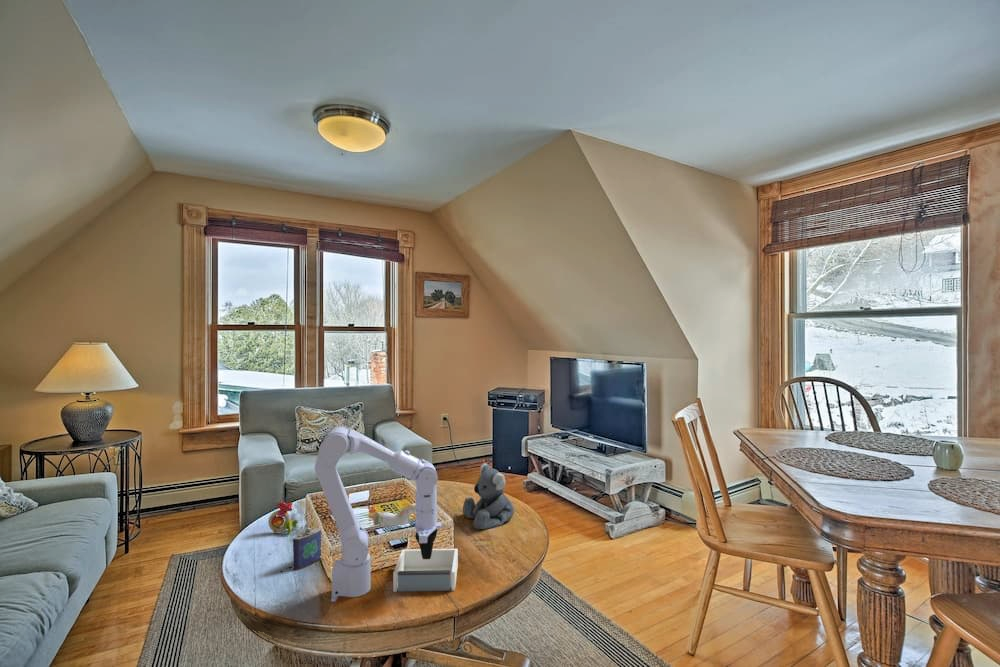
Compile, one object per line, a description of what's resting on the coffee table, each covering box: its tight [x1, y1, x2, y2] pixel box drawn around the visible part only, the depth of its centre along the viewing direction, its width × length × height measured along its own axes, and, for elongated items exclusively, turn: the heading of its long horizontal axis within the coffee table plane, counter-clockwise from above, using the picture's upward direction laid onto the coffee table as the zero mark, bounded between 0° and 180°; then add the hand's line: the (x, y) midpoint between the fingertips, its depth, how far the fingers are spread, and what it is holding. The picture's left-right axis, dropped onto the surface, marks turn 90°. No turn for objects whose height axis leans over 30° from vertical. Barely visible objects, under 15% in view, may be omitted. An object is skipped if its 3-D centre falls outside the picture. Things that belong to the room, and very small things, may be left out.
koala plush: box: [462, 462, 515, 530], centre depth 172 cm, size 17×18×20 cm
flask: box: [292, 526, 322, 571], centre depth 140 cm, size 9×3×11 cm, turn 148°
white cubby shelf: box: [392, 548, 459, 593], centre depth 129 cm, size 16×13×6 cm
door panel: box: [397, 570, 451, 592], centre depth 123 cm, size 14×1×5 cm, turn 92°
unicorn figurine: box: [372, 502, 416, 526], centre depth 153 cm, size 7×20×13 cm, turn 86°
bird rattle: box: [268, 501, 299, 535], centre depth 161 cm, size 6×11×9 cm
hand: (426, 558), depth 128 cm, fingers closed
